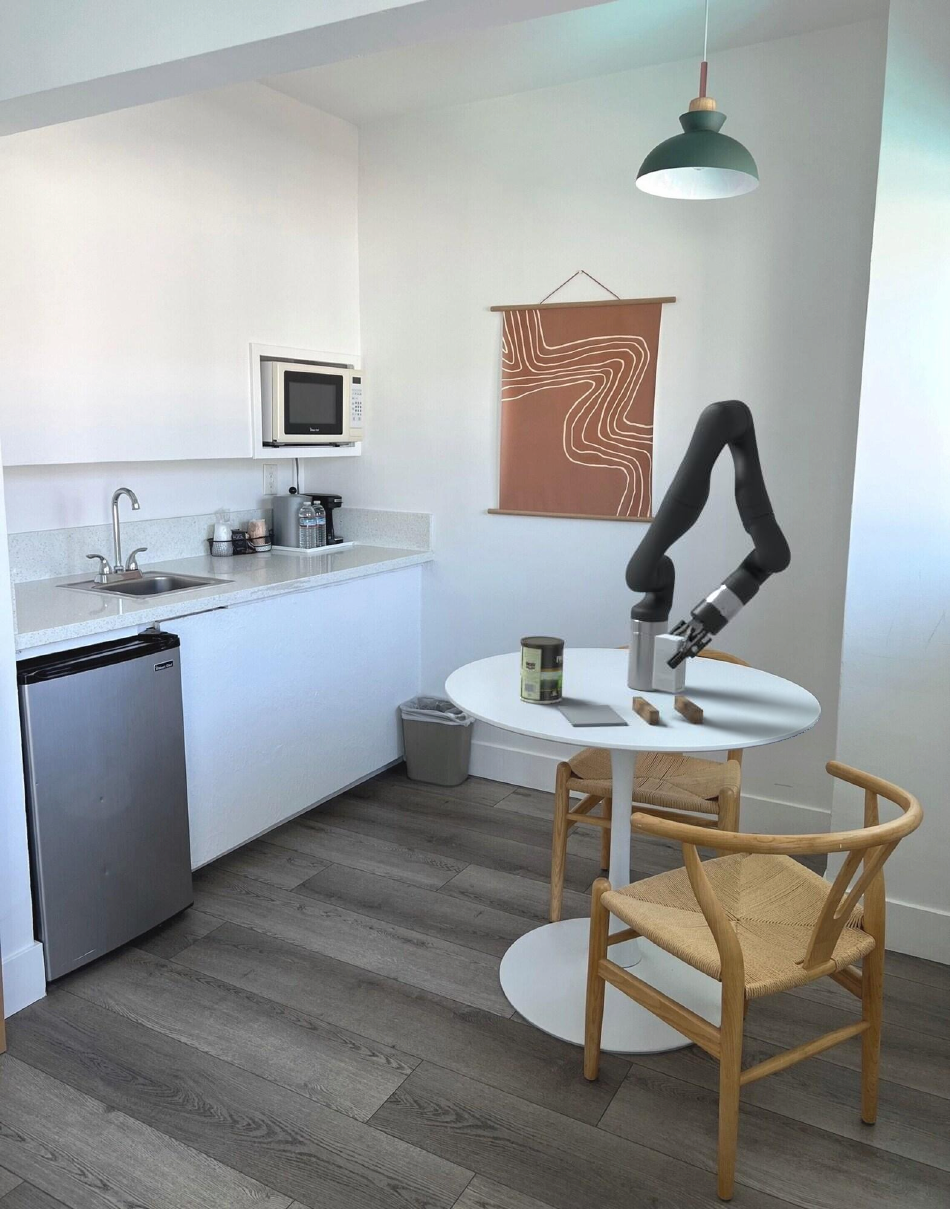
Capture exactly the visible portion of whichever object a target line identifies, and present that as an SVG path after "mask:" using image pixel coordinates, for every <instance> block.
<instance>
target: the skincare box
mask: <svg viewBox="0 0 950 1209" xmlns="http://www.w3.org/2000/svg"><path fill="white" fill-rule="evenodd" d="M683 638H684V637H679V636H674V635H668V634H663V635H658V636H655V648H654V667H653V685H652V688H653V689H658V690H657V691H663V692H668V693H672V694H676V693H679V692H684V691H685V690H686V688H685V687H686V672H687V671H686V670H687V669H686V668H687V658H685V659H684V660H683V661H682V662H681V663H680V664H679V665H678V666H677V667H676V668H675V669H672V668H670V666H669V665H668V664H667V661H668V660H669V659H670V658H671V657H672V656H673V655H674V654H675V653H676V652H677V651H679V649H680V648H681V646H682V644H683V643H682V640H683ZM679 652H680V651H679Z"/></svg>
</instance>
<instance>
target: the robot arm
mask: <svg viewBox="0 0 950 1209" xmlns="http://www.w3.org/2000/svg"><path fill="white" fill-rule="evenodd" d="M726 445H727V447H728V449H729V451H730V454H731V457H732V460H733V461H732V462H733V465H734V466H733V468H734V499H735V500H734V501H735V504H736V508H737V511H738V514H739V518H740V520H741V524H742V526H743V529H744V531H745V532H746V534H748V535H750V538H751V540H752V542H753V546H754V548H753V549H752V550H751V551H750V553H748V554H747V556H746V557H745V558H744V559H743V561H742V562H741V563H740V564H739V566H738V567H737V568H736V569H735V570H734V571H733V572H732V573H730V574H729V575H728V576H727V577H726V578H725V579H724V580H723V581H722V582H721V583H720V584H719V585H718V586H716V587H715V588H713V589H712V590H711V591H710V592H709V593H708V594H707V595H706V596H704V598H703V599H702V600H701V601H700V602H699V603H697V604H696V606H694V608H692V610H691V611H690V616H691V618H692V619H691V620H689V621H688V622H686V621H685V620H684V619H681V620H680V621H679V622H678V623H677V624H676V625H675V626H674V627H673V628H672V629H671V630H670V631H669V632H668V630H669V615H670V613H671V610H672V608H673V603H674V601H673V600H674V592H675V584H676V569H675V568H676V567H675V564H674V562H673V560H672V558H670V556H668V555H666V553H667V551H668V550H669V549H670V547H671V546H672V545H674V543H676V542H677V541H678V540H679V539H680V538H682V537H683V536H684V535H685V534H686V533H687V532H688V531H689V530H691V528H692V527H693V526H695V524H696V523H697V521H698V519H699V517H700V516H701V514H702V512H703V510H704V509H705V507H706V505H707V501H708V499H709V497H710V496H709V495H710V491H711V480H712V479H711V477H712V476H711V475H712V471H713V468H714V466H715V463H716V462H717V460H718V458H719V456H720V455H721V453H722V451H723V450H724V448H725V447H726ZM770 500H771V499H770V497H769V493H768V491H767V487H766V484H765V480H764V475H763V470H762V466H761V461H760V455H759V449H758V442H757V436H756V429H755V422H754V418H753V414H752V411H751V409H750V407H749V406H748V405H747V404H746V403H745V402H743V401H741V400H738V399H730V400H729V399H727V400H722V401H716V402H712V403H710V404H709V405H707V406H706V407H705V408H704V409H703V410H702V412H701V413H700V415H699V418H698V420H697V422H696V424H695V428H694V431H693V434H692V436H691V439H690V442H689V444H688V447H687V449H686V452H685V455H684V457H683V459H682V461H681V462H680V464H679V466H678V469H677V471H676V473H675V475H674V477H673V479H672V481H671V483H670V485H669V486H668V489H667V490H666V493H665V494H664V496H663V499H662V501H661V504H660V506H659V507H658V511H656V514H655V516H654V518H653V520H652V521H651V524H650V526H649V527H648V529H647V532H646V533H645V535H644V536H643V538H642V540H641V541H640V543H639V545H638V546H637V548H636V549H635V551H634V552H633V554H632V556H631V558H630V559H629V561H628V562H627V563H628V564H627V565H626V569H625V575H624V577H625V583H626V586H627V588H628V589H629V590H631V591H632V592H635V593H642V594H643V593H644V596H643V598H642V599H641V600H640V601H639V602H638V603H635V604H634V605H633V606H632V607H631V609H630V622H629V624H630V626H629V648H628V667H627V683H626V684H627V687H628V688H630V689H634V690H637V691H649V692H651V691H653V692H655V691H659V690H658V689H653V688H652V685H653V667H654V648H655V636H658V635H663V634H668V635H674V636H679V637H684V638H683V640H682V643H683V644H682V646H681V648H680V649H679V651H680V652H679V651H677V652H676V653H675V654H674V655H673V656H672V657H671V658H670V659H669V660H668V661H667V664H668V665H669V666H670V668H672V669H675V668H676V667H677V666H678V665H679V664H680V663H681V662H682V661H683V660H684V659H685V658H686V659H689V658H691V659H694V658H695V657H696V656H697V655H699V653H701V651H703V650H704V648H706V647H707V646H708V645H709V644H710V643H711V642H712V641H713V639H712V637H711V636H714V637H715V636H717V635H718V634H719V633H720V632H721V631H722V630H723V629H724V628H725V627H726V626H727V625H728V624H729V623H730V622H731V621H732V620H733V619H734V618H735V617H736V616H737V615H738V614H739V613H740V611H742V609H743V608H744V607H745V606H746V605H747V604H748V603H749V602H750V601H751V600H752V599H753V598H754V597H755V596H756V595H757V594H758V592H759V590H760V587H761V586H762V585H763V584H764V583H765V582H766V581H767V580H768V579H769V578H770V577H771V576H772V575H773V574H778V573H781V572H783V571H786V569H787V568H788V567H789V565H790V563H791V559H792V557H791V556H792V554H791V549H790V547H789V543H788V540H787V538H786V537H785V535H784V533H783V531H782V529H781V527H780V525H779V523H778V522H777V520H776V515H775V513H774V509H773V505H772V503H771V501H770ZM710 635H711V636H710Z"/></svg>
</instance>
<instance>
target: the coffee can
mask: <svg viewBox="0 0 950 1209" xmlns="http://www.w3.org/2000/svg"><path fill="white" fill-rule="evenodd" d="M519 642H520V659H519V660H520V661H519V662H520V663H519V666H520V669H519V697H518V698H519V700H521V701H522V702H526V703H529V702H530V704H536V705H537V704H538V705H539V704H540V705H551V703H552V704H556V702H557V703H559V701H560V702H562V700H563V674H564V673H563V672H564V671H563V670H564V649H565V648H564V647H565V640H564V639H562V638H559V637H555V636H543V635H539V636H538V635H537V636H536V635H535V636H526V637H522V638H521V639H520V640H519Z"/></svg>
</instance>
